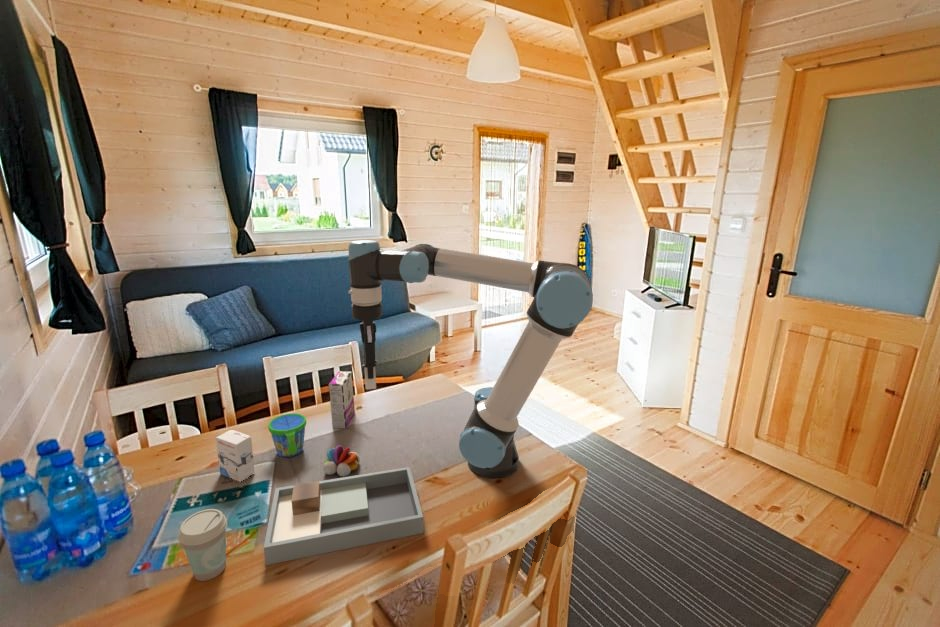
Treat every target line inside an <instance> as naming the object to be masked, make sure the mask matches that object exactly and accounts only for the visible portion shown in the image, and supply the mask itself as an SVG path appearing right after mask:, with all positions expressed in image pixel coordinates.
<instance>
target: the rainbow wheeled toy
mask: <svg viewBox="0 0 940 627" xmlns="http://www.w3.org/2000/svg"><path fill="white" fill-rule="evenodd" d="M359 463H360V455H359V454H358V453H357V452H355V451H351V447H349V446H346V448H344V447H343V446H342V445H336V447H335V448H330V449H329V450H327V453H326V458H325V460H324V464H323V472H324V473H325V474H326V475H329V476H330V475H335V474H336V473H337V475H338V476H340V477H341V478H343V477H349V475H350V474H351V471H354V470H356V469H357V468H358V466H359Z"/></svg>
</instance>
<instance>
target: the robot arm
mask: <svg viewBox="0 0 940 627" xmlns="http://www.w3.org/2000/svg"><path fill="white" fill-rule="evenodd" d="M347 261H348V269H349V279H350V283H349V284H350V290H348V291H347V292H348V295H350V297H351V298H350V300H351V302H352V304H351V317H352V319H354V320H357V321H362V322H361V323H359V330H360V335H361V336H360V337H361V342H362V348H363V357H362V358H363V359H364V360H363V363H364V364H362V368H363V369H364V382H365V384H364V385H365V387H364V388H365V390H375V389H377V379H376V378H377V377H376V376H377V372H376V366H377V362H378V360H377V359H376V348H375V347H376V341H377V339H376V334H377V325H376V322H373V321H375V320H379V319H380V318H381V317H383V304H382V300H383V299H382V298H383V296H382V293H383V292H382V283H381V282H383V281H385V282H386V281H387V282H399V283H408V284H413V283H417V284H418V283H423V282H425V281H426V279H427V277H428V276H434V277H440V278H445V279H450V280H457V281H462V282H467V283H473V284H479V285H486V286H491V287H495V288H502V289H507V290H514V291H519V292H525V293H528V294H529V296H530V297H532V298H533V299H532V301H531V303H530V305H529V307H528V309H527V311H526V313H525V314H526V317H527V320H528V323H527V324H526V326H525V328H524V330H523V332H522V333H521V335H520V338H519V340H518V341H517V343H516V345H515V346H514V348H513V350H512V352H511V354H510V356H509V358H508V359H507V362H506V363H505V365H504V366H503V369H502V370H501V372H500V375H499V376H498V377H497V380H496V382H495V383H494V384H493V386H489V387H487V386H486V387H482V388H479V389H477V390H476V391H475V393H474V397H473V401H474V403H473V404H474V406H473V411H472V412H471V414H470V416H469V417H468V420H467V423H466V425H465V427H464V429H463V431H462V432H461V433H460V436H459V440H458V448H459V451H460V454H461V456H462V457H463V459H464V460H465V461H466V462H467V466H468V469H470V471H471V472H473V473H474V472H475V474H476V473H477V474H476V475H478V474H479V475H478V476H480V475H481V477H483V476H484V478H489V479H500V478H505V477H508V476H511V475H513V474H514V473H515V472H516V471H517V470H518V468H519V465H520V464H519V462H520V458H519V456H520V455H519V452H518V449H517V447H516V443H515V440H514V439H515V433H516V431H517V430H518V428H519V425H520V424H519V420H518V416H519V414H520V412H521V411H522V409H523V407H524V405H525V404H526V402H527V400H528V398H529V397H530V394H531V393H532V392H533V389H535V386H536V385H537V383H538V381H539V379H540V378H541V376H542V374H543V373H544V371H545V369H546V367H547V365H548V364H549V362H550V361H551V359H552V357H553V355H554V354H555V352H556V349H557V348H558V347H559V345H560V343H561V342H562V340H565V339H570V338H571V337H572V336H573V334H574V333H575V331H576V329H577V328H578V326H579V324H580V323H582V322H583V321H584V320H585V319H586V318H587V317H588V315H589V314H590V312H591V309H592V307H593V301H594V293H593V290H592V289H593V288H592V286H591V281H590V278H589V276H588V274H587V272H586V271H585V270H584V269H583V268H581V267H580V266H578V265H576V264H572V263H569V262H567V263H566V262H555V261H547V260H541V259H538V260H536V261H535V262H527V261H520V260H515V259H508V258H502V257H496V256H492V255H491V256H489V255H483V254H476V253H471V252H465V251H458V250H454V249H453V250H452V249H446V248H439V247H434V246H433V245H431V244H428V243H418V244H415V245H414V246H412V247H409V248H405V249H401V250H389V249H388V250H386V249H381V247H380V243H379V242H378V241H377V240H368V239H367V240H364V239H363V240H354V241H351V242H350V243H349V245H348V260H347ZM512 473H513V474H512Z"/></svg>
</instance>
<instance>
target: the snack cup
mask: <svg viewBox="0 0 940 627" xmlns="http://www.w3.org/2000/svg"><path fill="white" fill-rule="evenodd" d="M306 425H307V418H306V417H305V416H304V415H303V414H300V413H295V412H294V413H285V414H280V415H278V416H276V417H274V418H273V419H271V420H270V421H269V423H268V425H267V426H268V431H269V433H270V434H271V438H272V441H273V444H274V448H275V451H276V454H277V455H278V456H279V457H280V458H281V457H284V458H291V457H294V456H296V455H298V454H300V453H301V452H303V450H304V445H305V433H306Z"/></svg>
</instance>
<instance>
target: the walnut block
mask: <svg viewBox="0 0 940 627" xmlns="http://www.w3.org/2000/svg"><path fill="white" fill-rule="evenodd" d="M299 484H300V483H299ZM299 484H294V487H293V494H292V501H291V502H292V511H293V515H299V514H305V513H310V512H316V511H320V485H319V480H318V481H312V482H307V483H306V484H305V483H301V484H300V485H299Z"/></svg>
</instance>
